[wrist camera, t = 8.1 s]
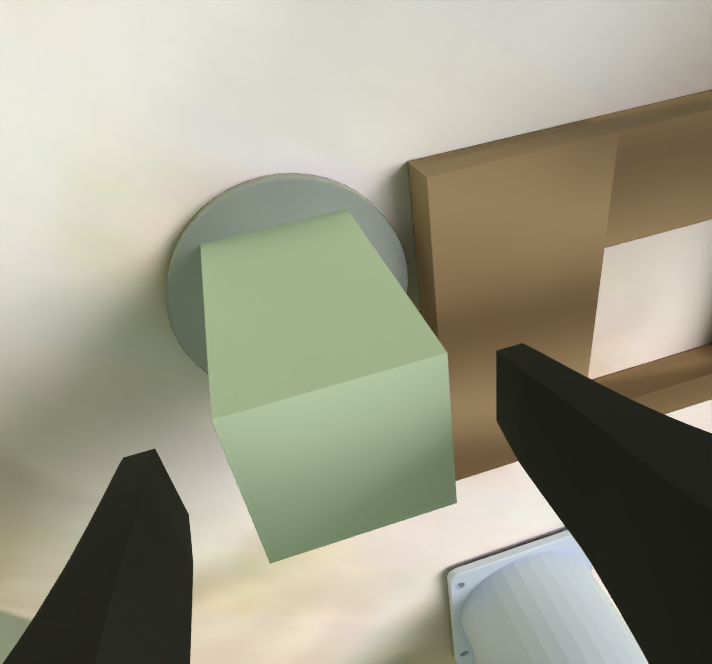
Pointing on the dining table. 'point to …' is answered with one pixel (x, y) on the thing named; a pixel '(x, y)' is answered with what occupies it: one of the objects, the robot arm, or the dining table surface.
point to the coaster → (255, 212)
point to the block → (323, 384)
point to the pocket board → (552, 252)
